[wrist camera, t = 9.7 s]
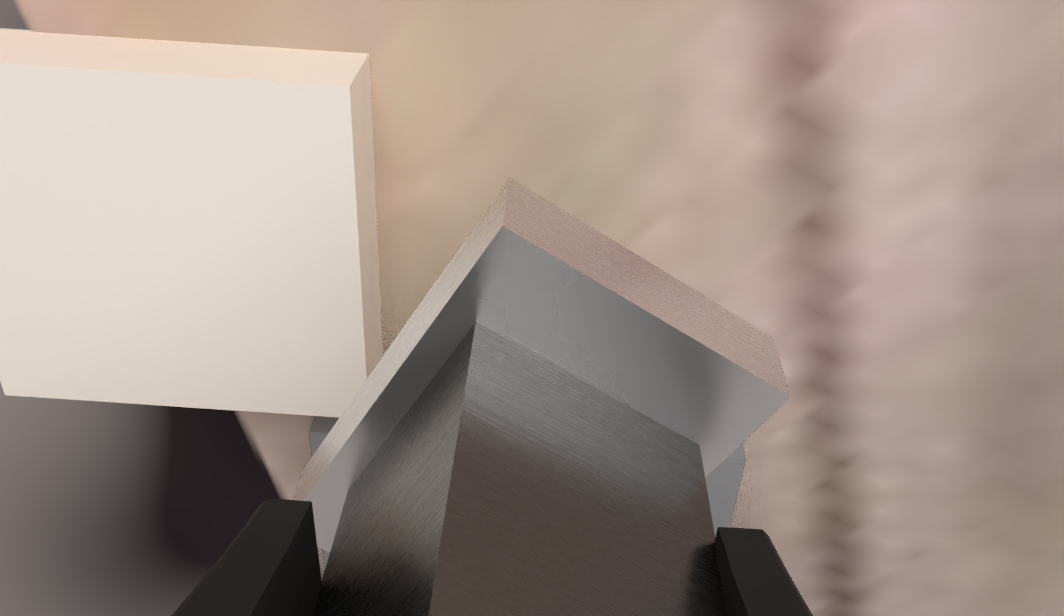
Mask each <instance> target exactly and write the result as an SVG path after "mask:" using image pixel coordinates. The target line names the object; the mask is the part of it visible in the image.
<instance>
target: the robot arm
mask: <svg viewBox="0 0 1064 616" xmlns="http://www.w3.org/2000/svg"><path fill="white" fill-rule="evenodd" d="M714 543H715V549H716V555H717V561H718V567H719V572H720V578H721V584H722V590H723V596H724V602H725V606H726V610H727V614H728V616H813V615H812V613H811V612H810V610H809V608H808V607H807V605H806V603H805V601H804V600H803V598H802V596H801V595H800V593H799V591H798V589H797V588H796V586H795V584H794V582H793V581H792V579H791V577H790V575H789V573H788V572H787V570H786V568H785V566H784V564H783V562H782V561H781V559H780V557H779V555H778V553H777V551H776V549H775V547H774V545H773V543H772V542H771V540H770V538H769V536H768V535H767V534H766V533H765V532H764V531H763V530H760V529H744V528H728V527H718V529H717V533H716V537H715V542H714ZM321 586H322V582H321V574H320V566H319V557H318V549H317V540H316V532H315V524H314V515H313V507H312V501H299V500H283V499H267V500H265V501H264V502H263V503H261V504H260V505H259V507H258V508H257V510H256V511H255V512H254V514H253V515H252V516H251V518H250V519H249V521H248V522H247V523H246V524H245V526H244V527H243V529H242V530H241V531H240V532H239V534H238V535H237V536H236V538H235V539H234V540H233V542H232V543H231V544H230V545H229V547H228V548H227V549H226V551H225V552H224V553H223V554H222V556H221V557H220V558H219V559H218V561H217V562H216V563H215V565H214V566H213V567H212V568H211V569H210V571H209V572H208V573H207V574H206V576H205V577H204V578H203V579H202V581H201V582H200V583H199V584H198V585H197V587H196V588H195V589H194V590H193V591H192V593H191V594H190V595H189V596H188V597H187V598H186V599H185V601H184V602H183V603H182V604H181V606H180V607H179V608H178V609H177V610H176V611H175V612H174V614H173V615H172V616H313V614H314V611H315V607H316V604H317V600H318V597H319V593H320V590H321Z"/></svg>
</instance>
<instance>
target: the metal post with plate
mask: <svg viewBox="0 0 1064 616" xmlns="http://www.w3.org/2000/svg"><path fill="white" fill-rule="evenodd" d="M790 398H791V394H790V391H789V387H788V384H787V381H786V378H785V375H784V372H783V368H782V365H781V362H780V359H779V356H778V353H777V349H776V346H775V343H774V340H773V338H772V337H771V336H769V335H768V334H766V333H764V332H763V331H761V330H759V329H758V328H756V327H754V326H753V325H751V324H749V323H748V322H746V321H745V320H743V319H741V318H740V317H738V316H736V315H735V314H733V313H731V312H730V311H728V310H727V309H725V308H723V307H722V306H720V305H718V304H717V303H715V302H713V301H712V300H710V299H708V298H707V297H705V296H704V295H702V294H700V293H699V292H697V291H695V290H694V289H692V288H690V287H689V286H687V285H685V284H684V283H682V282H681V281H679V280H677V279H676V278H674V277H672V276H671V275H669V274H667V273H666V272H664V271H663V270H661V269H659V268H658V267H656V266H654V265H653V264H651V263H649V262H648V261H646V260H644V259H643V258H641V257H640V256H638V255H636V254H635V253H633V252H631V251H630V250H628V249H626V248H625V247H623V246H621V245H620V244H618V243H617V242H615V241H613V240H612V239H610V238H608V237H607V236H605V235H603V234H602V233H600V232H599V231H597V230H595V229H594V228H592V227H590V226H589V225H587V224H585V223H584V222H582V221H580V220H579V219H577V218H576V217H574V216H572V215H571V214H569V213H567V212H566V211H564V210H562V209H561V208H559V207H557V206H556V205H554V204H553V203H551V202H549V201H548V200H546V199H544V198H543V197H541V196H539V195H538V194H536V193H535V192H533V191H531V190H530V189H528V188H526V187H525V186H523V185H521V184H520V183H518V182H516V181H515V180H513V179H512V178H510V177H509V178H508V180H507V181H506V183H505V184H504V185H503V187H502V188H501V190H500V191H499V192H498V194H497V195H496V197H495V198H494V200H493V201H492V202H491V204H490V205H489V207H488V208H487V209H486V211H485V212H484V214H483V215H482V217H481V218H480V219H479V221H478V222H477V224H476V225H475V226H474V228H473V229H472V231H471V232H470V234H469V235H468V236H467V238H466V239H465V241H464V242H463V243H462V245H461V246H460V248H459V249H458V251H457V252H456V253H455V255H454V256H453V258H452V259H451V260H450V262H449V263H448V265H447V266H446V268H445V269H444V270H443V272H442V273H441V275H440V276H439V277H438V279H437V280H436V282H435V283H434V285H433V286H432V287H431V289H430V290H429V292H428V293H427V294H426V296H425V297H424V299H423V300H422V302H421V303H420V304H419V306H418V307H417V309H416V310H415V311H414V313H413V314H412V316H411V317H410V319H409V320H408V321H407V323H406V324H405V326H404V327H403V328H402V330H401V331H400V333H399V334H398V336H397V337H396V338H395V340H394V341H393V343H392V344H391V345H390V347H389V348H388V350H387V351H386V353H385V354H384V355H383V357H382V358H381V360H380V361H379V362H378V364H377V365H376V367H375V368H374V370H373V371H372V372H371V374H370V375H369V377H368V378H367V379H366V381H365V382H364V384H363V385H362V387H361V388H360V389H359V391H358V392H357V394H356V395H355V396H354V398H353V399H352V401H351V402H350V404H349V405H348V406H347V408H346V409H345V411H344V412H343V413H342V415H341V416H340V418H339V419H338V421H337V422H336V423H335V425H334V426H333V428H332V429H331V431H330V432H329V433H328V435H327V436H326V438H325V439H324V440H323V442H322V443H321V445H320V446H319V448H318V449H317V450H316V452H315V453H314V455H313V456H312V457H311V459H310V460H309V462H308V463H307V465H306V466H305V467H304V469H303V472H302V475H301V477H300V480H299V483H298V486H297V489H296V491H295V494H294V497H293V500H299V501H312V507H313V515H314V524H315V532H316V540H317V547H319V548H321V549H323V550H326V551H328V552H330V554H329V558H328V561H327V565H326V568H325V571H324V575H323V578H322V586H321V590H320V593H319V597H318V600H317V604H316V607H315V611H314V614H313V616H728V614H727V610H726V606H725V602H724V596H723V590H722V584H721V578H720V572H719V567H718V561H717V555H716V549H715V543H714V542H715V533H714V527H713V521H712V515H711V509H710V503H709V498H708V492H707V486H706V480H705V478H706V477H707V476H708V475H709V474H710V473H711V472H712V471H713V470H714V469H715V468H716V467H717V466H718V465H719V464H720V463H722V462H723V461H724V460H725V459H726V458H727V457H728V456H729V455H730V454H731V453H732V452H733V451H734V450H735V449H736V448H737V447H739V446H740V445H741V444H742V443H743V442H744V441H745V440H746V439H747V438H748V437H749V436H750V435H751V434H752V433H753V432H754V431H756V430H757V429H758V428H759V427H760V426H761V425H762V424H763V423H764V422H765V421H766V420H767V419H768V418H769V417H770V416H771V415H773V414H774V413H775V412H776V411H777V410H778V409H779V408H780V407H781V406H782V405H783V404H784V403H785V402H786V401H787V400H788V399H790Z"/></svg>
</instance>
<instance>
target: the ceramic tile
mask: <svg viewBox="0 0 1064 616" xmlns="http://www.w3.org/2000/svg"><path fill="white" fill-rule="evenodd" d="M382 357H383V342H382V321H381V299H380V277H379V255H378V233H377V212H376V190H375V168H374V146H373V124H372V103H371V81H370V59H369V54H366V53H350V52H335V51H319V50H304V49H288V48H273V47H257V46H242V45H226V44H211V43H195V42H180V41H164V40H149V39H133V38H118V37H102V36H87V35H71V34H56V33H40V32H32V31H31V30H21V29H6V28H5V29H4V28H0V382H1V385H2V388H3V391H4V394H5V395H11V396H26V397H41V398H56V399H71V400H85V401H100V402H117V403H131V404H145V405H160V406H175V407H190V408H205V409H220V410H235V411H249V412H264V413H279V414H294V415H309V416H324V417H339V418H340V416H341V415H342V413H343V412H344V411H345V409H346V408H347V406H348V405H349V404H350V402H351V401H352V399H353V398H354V396H355V395H356V394H357V392H358V391H359V389H360V388H361V387H362V385H363V384H364V382H365V381H366V379H367V378H368V377H369V375H370V374H371V372H372V371H373V370H374V368H375V367H376V365H377V364H378V362H379V361H380V360H381V358H382Z"/></svg>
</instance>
